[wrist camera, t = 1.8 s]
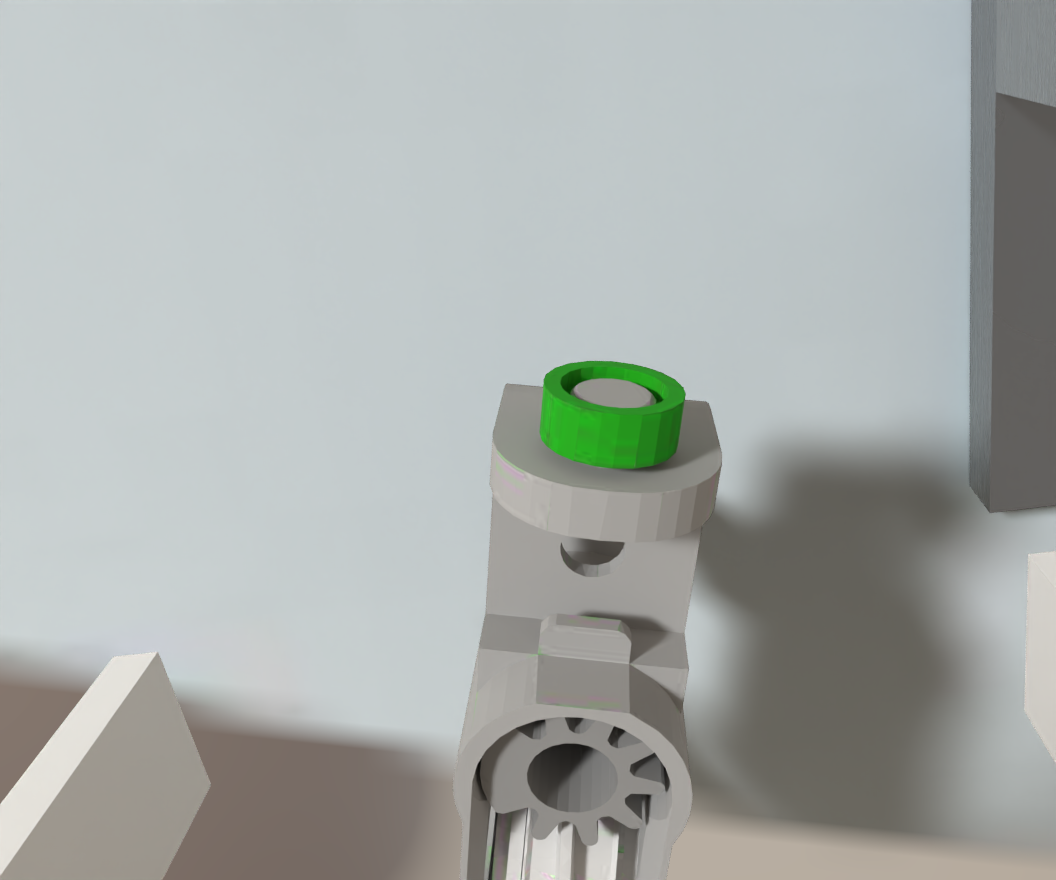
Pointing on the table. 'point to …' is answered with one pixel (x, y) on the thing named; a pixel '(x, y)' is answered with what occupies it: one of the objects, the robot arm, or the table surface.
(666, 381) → the mechanical component
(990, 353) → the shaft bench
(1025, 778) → the table surface
